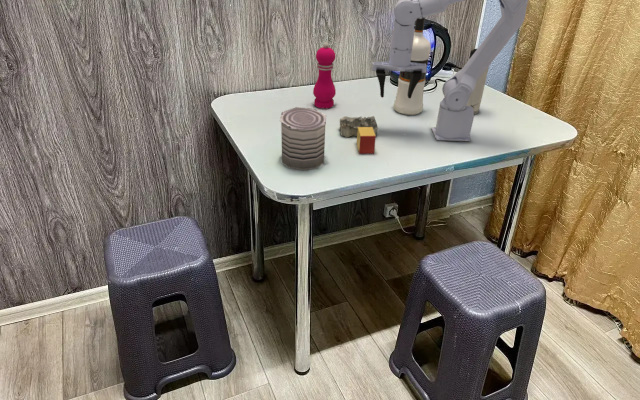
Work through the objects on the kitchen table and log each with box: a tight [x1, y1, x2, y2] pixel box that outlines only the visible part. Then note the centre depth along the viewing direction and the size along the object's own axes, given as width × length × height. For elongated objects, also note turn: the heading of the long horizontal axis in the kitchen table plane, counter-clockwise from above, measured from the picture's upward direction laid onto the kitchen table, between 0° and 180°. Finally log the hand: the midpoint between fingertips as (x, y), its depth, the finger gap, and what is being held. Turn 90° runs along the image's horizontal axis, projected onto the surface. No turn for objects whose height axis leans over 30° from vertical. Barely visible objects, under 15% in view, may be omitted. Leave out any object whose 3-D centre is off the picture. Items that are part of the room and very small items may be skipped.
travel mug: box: [466, 48, 490, 115], centre depth 147 cm, size 6×7×20 cm
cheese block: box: [356, 127, 377, 155], centre depth 126 cm, size 4×6×5 cm
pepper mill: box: [312, 41, 337, 109], centre depth 148 cm, size 7×7×20 cm
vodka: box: [393, 17, 432, 116], centre depth 143 cm, size 9×9×30 cm
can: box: [279, 106, 327, 171], centre depth 118 cm, size 11×11×12 cm
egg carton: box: [338, 115, 379, 138], centre depth 135 cm, size 11×8×4 cm
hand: (395, 96), depth 132 cm, fingers open, 7 cm apart
